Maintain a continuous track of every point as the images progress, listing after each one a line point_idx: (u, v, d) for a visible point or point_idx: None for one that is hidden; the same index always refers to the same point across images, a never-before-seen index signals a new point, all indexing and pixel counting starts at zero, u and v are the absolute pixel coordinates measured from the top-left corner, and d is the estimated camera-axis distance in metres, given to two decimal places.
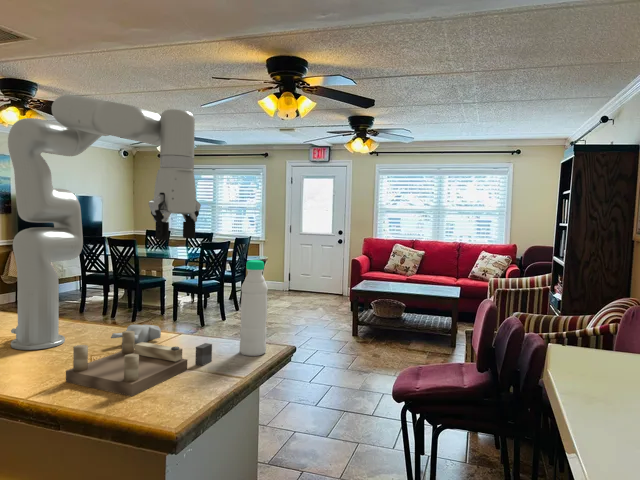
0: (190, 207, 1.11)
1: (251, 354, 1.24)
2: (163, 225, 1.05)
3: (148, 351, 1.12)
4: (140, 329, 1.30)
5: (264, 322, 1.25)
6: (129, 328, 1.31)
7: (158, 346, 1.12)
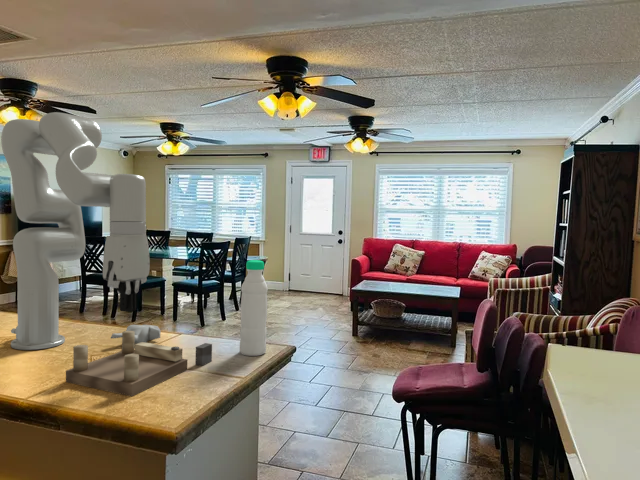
0: (143, 271, 1.08)
1: (251, 354, 1.24)
2: (127, 297, 1.05)
3: (148, 351, 1.12)
4: (140, 329, 1.30)
5: (264, 322, 1.25)
6: (129, 328, 1.31)
7: (158, 346, 1.12)
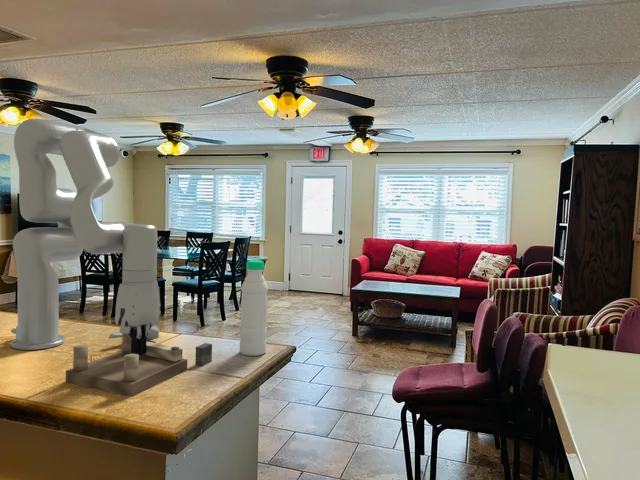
0: (154, 316, 1.13)
1: (251, 354, 1.24)
2: (138, 341, 1.10)
3: (149, 350, 1.12)
4: None
5: (264, 322, 1.25)
6: None
7: (159, 346, 1.13)
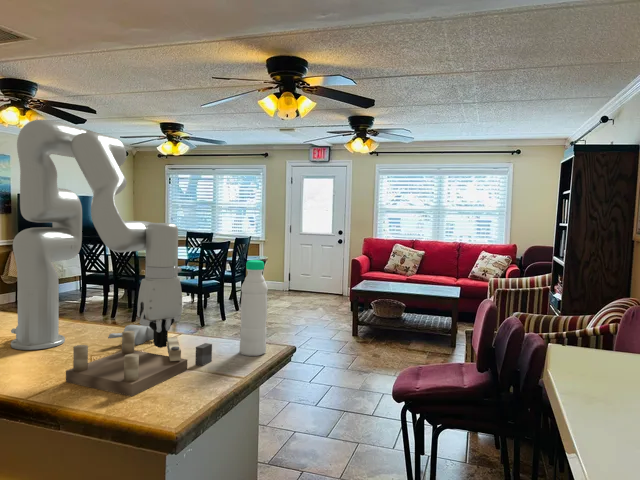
0: (174, 311, 1.17)
1: (251, 354, 1.24)
2: (158, 334, 1.16)
3: None
4: (137, 329, 1.30)
5: (264, 322, 1.25)
6: (126, 328, 1.31)
7: (173, 343, 1.15)
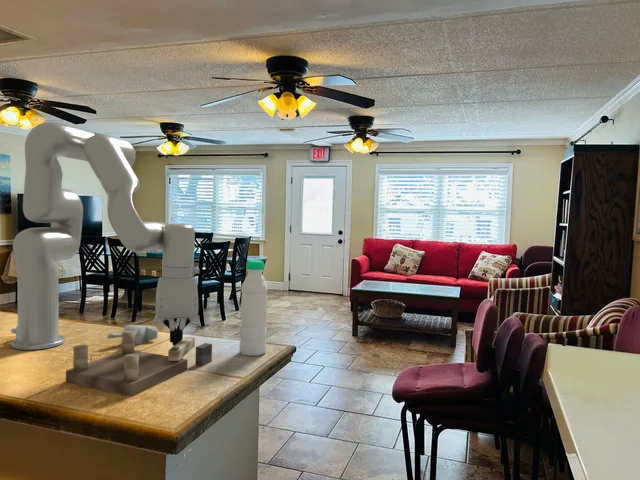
0: (188, 312, 1.18)
1: (251, 354, 1.24)
2: (172, 333, 1.18)
3: None
4: (136, 329, 1.30)
5: (264, 322, 1.25)
6: (126, 328, 1.30)
7: (182, 343, 1.15)
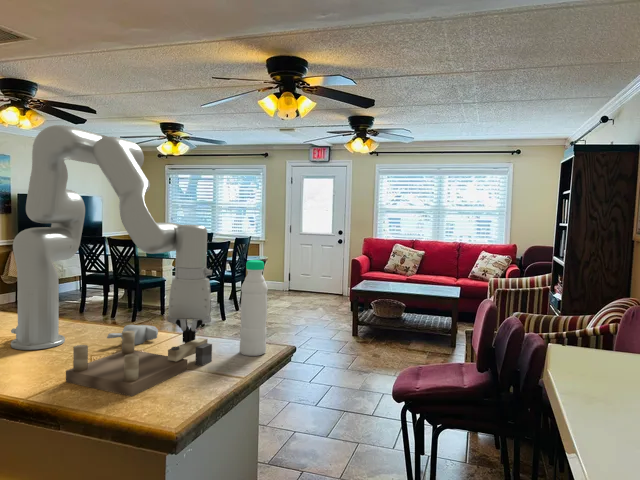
0: (198, 313, 1.18)
1: (251, 354, 1.24)
2: (184, 333, 1.19)
3: None
4: (136, 329, 1.30)
5: (264, 322, 1.25)
6: (125, 328, 1.30)
7: (188, 344, 1.15)
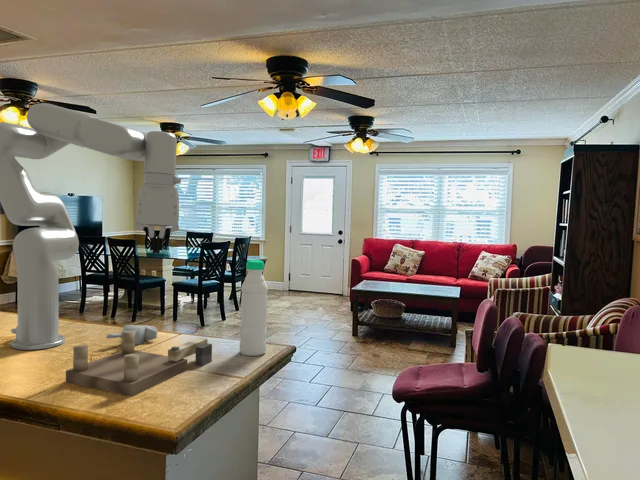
0: (167, 220, 1.19)
1: (251, 354, 1.24)
2: (151, 240, 1.20)
3: None
4: (136, 329, 1.30)
5: (264, 322, 1.25)
6: (125, 328, 1.30)
7: (188, 344, 1.15)
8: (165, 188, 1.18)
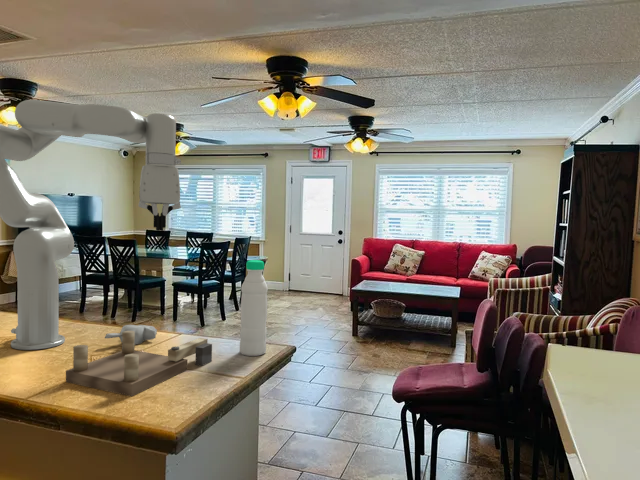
0: (170, 198, 1.25)
1: (251, 354, 1.24)
2: (155, 218, 1.25)
3: None
4: (134, 329, 1.30)
5: (264, 322, 1.25)
6: (123, 328, 1.30)
7: (188, 344, 1.15)
8: (167, 168, 1.24)
